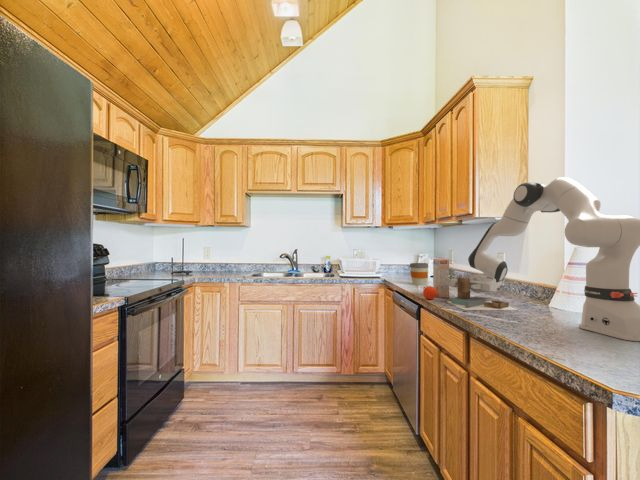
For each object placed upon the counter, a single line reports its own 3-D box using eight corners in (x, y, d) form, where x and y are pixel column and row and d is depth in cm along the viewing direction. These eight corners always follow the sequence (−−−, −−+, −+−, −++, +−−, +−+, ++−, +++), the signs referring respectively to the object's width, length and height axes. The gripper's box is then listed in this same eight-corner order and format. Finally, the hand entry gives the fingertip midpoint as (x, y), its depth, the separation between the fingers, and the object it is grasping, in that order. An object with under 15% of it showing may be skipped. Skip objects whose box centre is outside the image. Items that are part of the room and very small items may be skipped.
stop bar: (470, 303, 150) (470, 278, 150) (465, 304, 148) (465, 278, 148) (462, 302, 153) (462, 277, 153) (457, 303, 151) (457, 278, 151)
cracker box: (449, 298, 171) (449, 259, 171) (438, 298, 172) (437, 259, 172) (443, 294, 184) (443, 258, 185) (433, 293, 185) (432, 258, 186)
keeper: (508, 306, 142) (508, 302, 142) (500, 308, 138) (500, 304, 138) (492, 304, 148) (492, 300, 148) (484, 306, 144) (484, 301, 144)
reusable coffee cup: (407, 284, 227) (407, 263, 227) (414, 282, 237) (414, 262, 237) (424, 286, 219) (424, 264, 219) (431, 284, 229) (430, 263, 229)
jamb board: (518, 311, 136) (518, 303, 136) (464, 312, 137) (464, 304, 137) (493, 303, 156) (492, 296, 156) (446, 303, 157) (446, 296, 157)
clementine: (418, 298, 170) (418, 285, 170) (427, 297, 173) (427, 284, 173) (431, 301, 163) (431, 287, 163) (439, 299, 167) (439, 286, 167)
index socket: (476, 303, 150) (475, 298, 150) (466, 305, 145) (466, 300, 145) (460, 301, 156) (460, 296, 156) (451, 303, 151) (451, 298, 152)
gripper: (458, 275, 167) (443, 277, 159) (499, 279, 150) (483, 281, 142) (459, 287, 166) (443, 289, 159) (499, 292, 150) (483, 295, 142)
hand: (462, 285), depth 150 cm, fingers open, 8 cm apart
